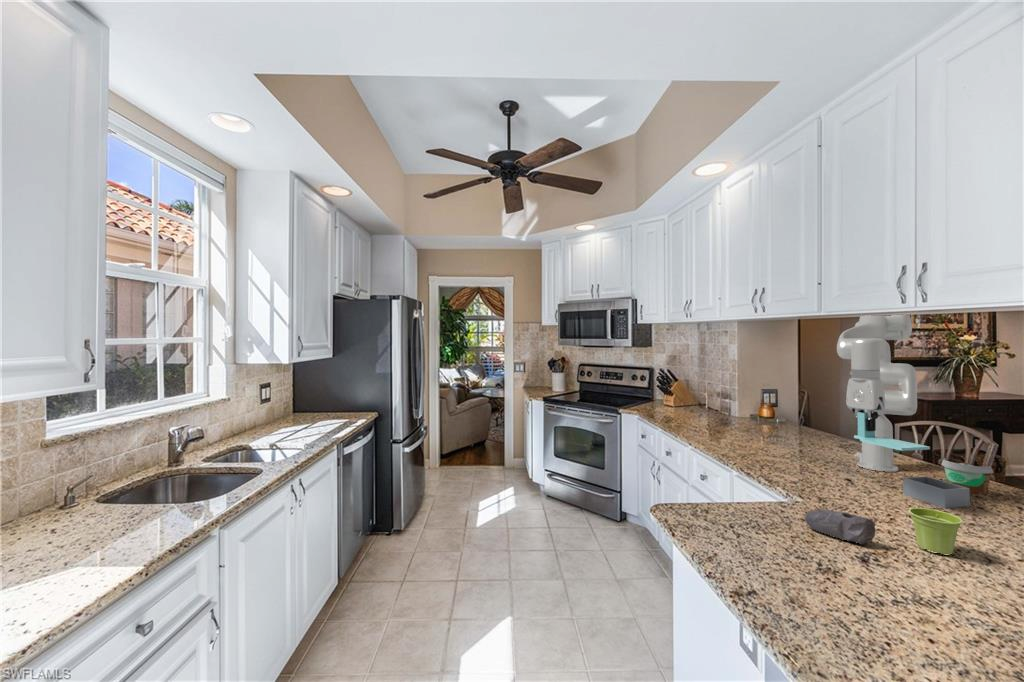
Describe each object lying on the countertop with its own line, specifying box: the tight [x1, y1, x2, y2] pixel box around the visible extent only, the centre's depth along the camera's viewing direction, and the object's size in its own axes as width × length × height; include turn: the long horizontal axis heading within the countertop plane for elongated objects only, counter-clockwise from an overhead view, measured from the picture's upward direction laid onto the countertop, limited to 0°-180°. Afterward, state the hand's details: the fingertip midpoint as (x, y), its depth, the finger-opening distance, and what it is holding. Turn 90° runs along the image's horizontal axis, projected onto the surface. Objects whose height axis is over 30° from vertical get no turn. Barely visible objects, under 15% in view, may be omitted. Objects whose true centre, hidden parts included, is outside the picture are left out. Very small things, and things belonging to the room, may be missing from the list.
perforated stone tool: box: [803, 509, 877, 545], centre depth 112 cm, size 15×5×7 cm, turn 36°
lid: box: [853, 412, 931, 452], centre depth 136 cm, size 17×10×9 cm, turn 9°
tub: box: [902, 475, 971, 509], centre depth 135 cm, size 12×9×6 cm
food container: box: [941, 457, 994, 497], centre depth 143 cm, size 12×6×10 cm, turn 25°
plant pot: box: [908, 507, 963, 555], centre depth 105 cm, size 9×9×9 cm
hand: (866, 429), depth 143 cm, fingers closed on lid
